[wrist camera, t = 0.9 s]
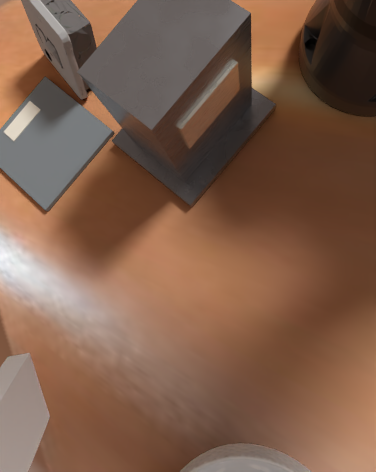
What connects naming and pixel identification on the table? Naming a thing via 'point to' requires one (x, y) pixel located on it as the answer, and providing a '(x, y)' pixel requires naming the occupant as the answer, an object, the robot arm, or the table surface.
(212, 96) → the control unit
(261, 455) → the cereal bowl
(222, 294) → the table surface
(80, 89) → the electrical switch
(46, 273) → the table surface
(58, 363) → the table surface
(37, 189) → the pad
